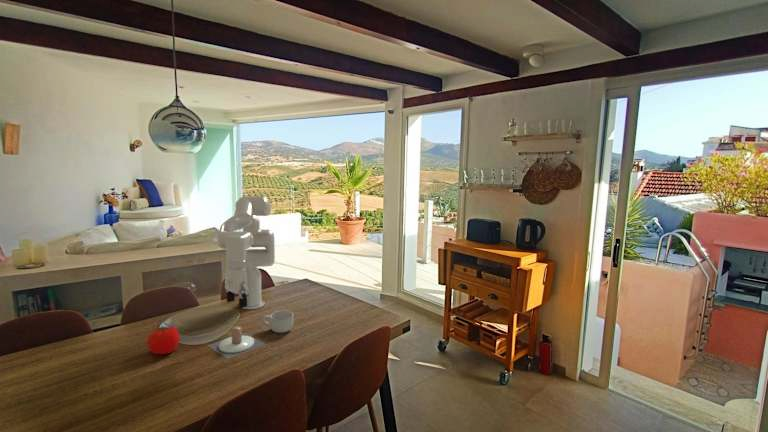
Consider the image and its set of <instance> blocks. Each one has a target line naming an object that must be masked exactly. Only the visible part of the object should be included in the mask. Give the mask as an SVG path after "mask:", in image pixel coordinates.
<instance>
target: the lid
mask: <svg viewBox="0 0 768 432" xmlns="http://www.w3.org/2000/svg"><path fill="white" fill-rule="evenodd" d="M242 329H243V328H242V326H241V325H239V326H237V325H236V326H232V327H231V331H230V333H231V336H229V337H227V338H225V339H222V340H223V341H222V340H220V341H221V342H220V343H219V350H220V351H222V352H225V353H238V352H242V351H246V350H248V349H250V348H251V347H252V346H253V345H254V339H253V338H254V337H253V336H252V337H253V338H252V337H250V336H251V335H250V336H244V335H242V331H243V330H242Z"/></svg>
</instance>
